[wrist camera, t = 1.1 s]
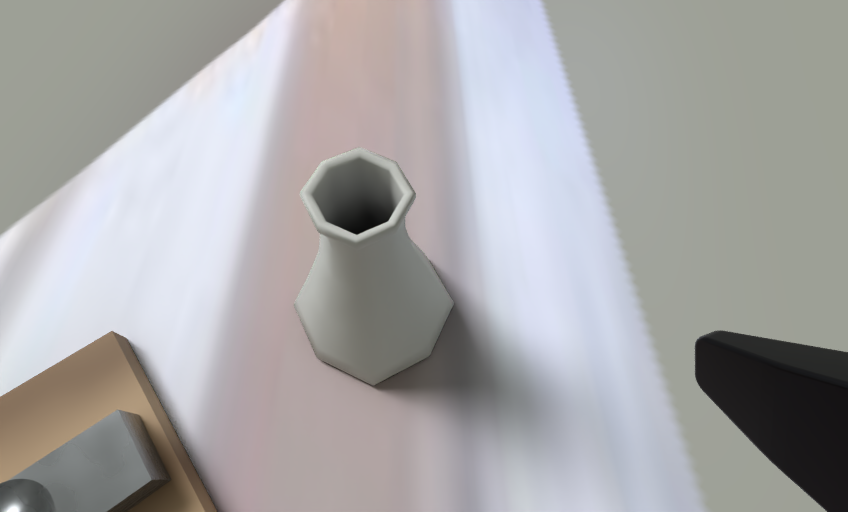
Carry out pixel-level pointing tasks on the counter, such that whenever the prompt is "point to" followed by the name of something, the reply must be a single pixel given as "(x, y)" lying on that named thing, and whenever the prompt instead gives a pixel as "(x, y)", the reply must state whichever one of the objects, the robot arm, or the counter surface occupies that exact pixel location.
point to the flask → (368, 271)
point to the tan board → (95, 418)
